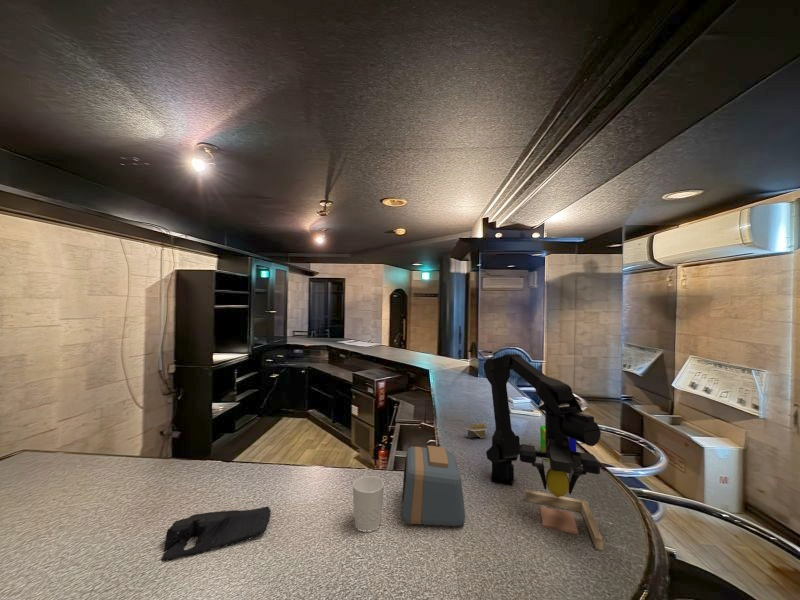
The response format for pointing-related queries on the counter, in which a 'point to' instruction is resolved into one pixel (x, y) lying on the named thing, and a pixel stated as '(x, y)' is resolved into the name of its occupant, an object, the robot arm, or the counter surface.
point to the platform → (476, 430)
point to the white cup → (368, 502)
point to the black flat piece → (214, 530)
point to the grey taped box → (432, 488)
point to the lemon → (557, 482)
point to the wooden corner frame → (565, 514)
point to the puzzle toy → (542, 432)
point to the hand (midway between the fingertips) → (557, 490)
